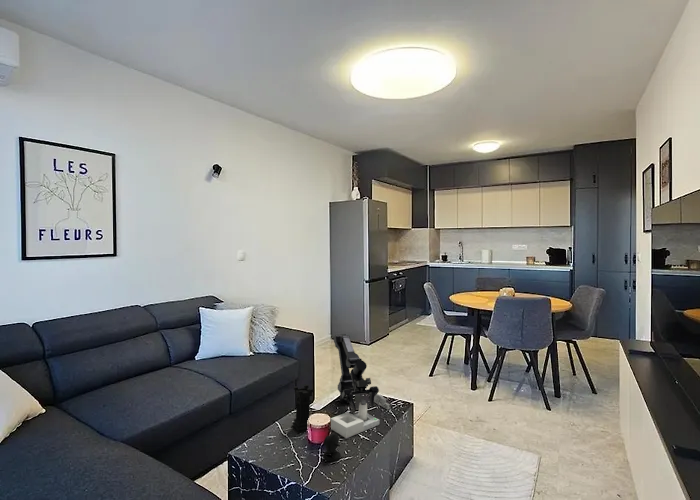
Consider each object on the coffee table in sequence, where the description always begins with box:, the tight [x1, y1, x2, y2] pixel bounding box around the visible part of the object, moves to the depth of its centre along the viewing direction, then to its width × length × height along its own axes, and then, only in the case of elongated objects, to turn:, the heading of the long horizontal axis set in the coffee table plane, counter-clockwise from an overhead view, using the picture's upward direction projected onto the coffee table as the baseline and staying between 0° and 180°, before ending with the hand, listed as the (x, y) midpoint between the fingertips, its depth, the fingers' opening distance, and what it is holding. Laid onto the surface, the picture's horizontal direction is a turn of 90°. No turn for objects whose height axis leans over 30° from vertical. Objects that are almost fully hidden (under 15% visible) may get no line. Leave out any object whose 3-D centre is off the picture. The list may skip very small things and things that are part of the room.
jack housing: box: [330, 412, 381, 439], centre depth 192 cm, size 12×22×5 cm, turn 131°
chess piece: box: [291, 384, 314, 435], centre depth 188 cm, size 8×8×20 cm
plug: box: [358, 398, 368, 422], centre depth 195 cm, size 4×4×12 cm
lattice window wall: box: [374, 393, 391, 410], centre depth 217 cm, size 12×2×6 cm, turn 37°
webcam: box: [322, 432, 342, 463], centre depth 164 cm, size 8×8×10 cm
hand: (363, 408), depth 194 cm, fingers open, 9 cm apart
